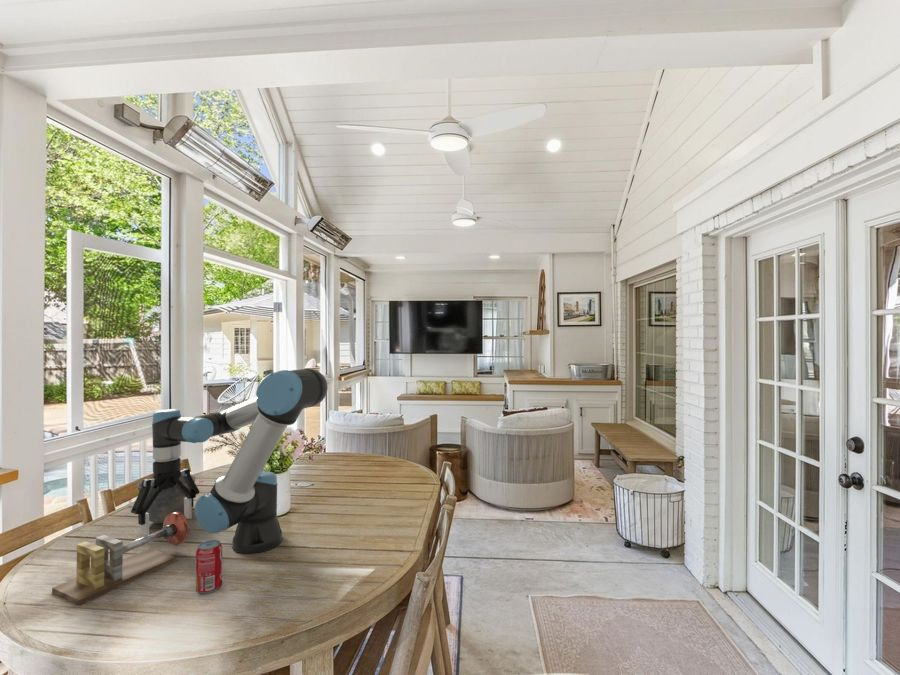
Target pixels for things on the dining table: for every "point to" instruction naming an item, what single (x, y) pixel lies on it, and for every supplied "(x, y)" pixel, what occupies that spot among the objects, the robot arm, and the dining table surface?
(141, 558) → the board
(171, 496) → the grey plant pot
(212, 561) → the soda can
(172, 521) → the red knob rod
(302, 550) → the dining table surface
